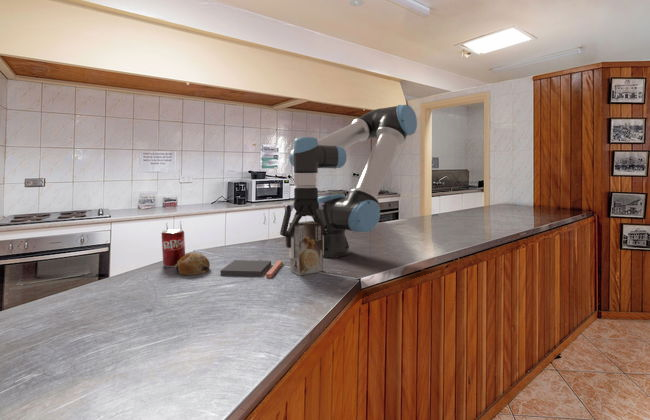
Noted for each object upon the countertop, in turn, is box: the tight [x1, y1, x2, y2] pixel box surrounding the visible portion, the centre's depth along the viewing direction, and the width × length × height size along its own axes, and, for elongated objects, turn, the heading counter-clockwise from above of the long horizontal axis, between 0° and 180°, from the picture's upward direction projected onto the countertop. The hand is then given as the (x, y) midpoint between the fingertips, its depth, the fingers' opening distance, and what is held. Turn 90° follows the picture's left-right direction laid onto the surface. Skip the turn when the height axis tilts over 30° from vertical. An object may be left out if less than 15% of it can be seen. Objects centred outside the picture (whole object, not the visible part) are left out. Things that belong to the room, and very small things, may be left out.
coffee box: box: [288, 220, 324, 276], centre depth 114 cm, size 9×6×16 cm
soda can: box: [160, 229, 186, 268], centre depth 123 cm, size 7×7×12 cm
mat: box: [220, 259, 272, 277], centre depth 117 cm, size 13×13×2 cm
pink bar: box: [265, 260, 283, 279], centre depth 116 cm, size 2×16×1 cm, turn 175°
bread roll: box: [174, 252, 211, 276], centre depth 115 cm, size 10×10×8 cm
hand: (306, 255), depth 115 cm, fingers closed on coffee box, 10 cm apart
